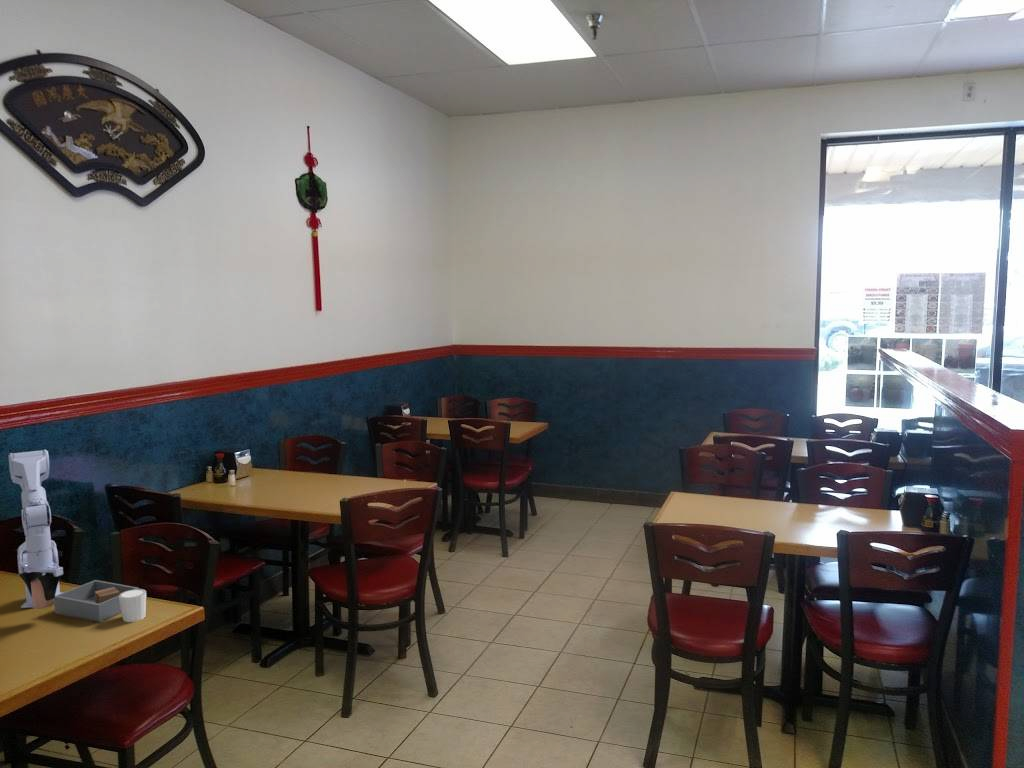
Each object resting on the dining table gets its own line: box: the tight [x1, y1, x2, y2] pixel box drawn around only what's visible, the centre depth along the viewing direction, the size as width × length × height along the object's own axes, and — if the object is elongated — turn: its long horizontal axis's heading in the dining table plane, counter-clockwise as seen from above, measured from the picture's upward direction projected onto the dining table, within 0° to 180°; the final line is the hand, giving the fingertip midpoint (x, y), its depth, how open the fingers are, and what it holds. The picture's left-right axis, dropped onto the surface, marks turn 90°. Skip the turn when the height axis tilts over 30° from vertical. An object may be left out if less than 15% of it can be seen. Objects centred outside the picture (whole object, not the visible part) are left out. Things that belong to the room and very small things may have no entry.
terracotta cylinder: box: [31, 578, 55, 610], centre depth 207 cm, size 5×5×7 cm
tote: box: [54, 579, 140, 623], centre depth 216 cm, size 17×13×5 cm
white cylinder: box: [119, 588, 147, 623], centre depth 210 cm, size 7×7×7 cm
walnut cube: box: [95, 587, 120, 604], centre depth 215 cm, size 5×5×5 cm
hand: (43, 597), depth 208 cm, fingers closed on terracotta cylinder, 5 cm apart
